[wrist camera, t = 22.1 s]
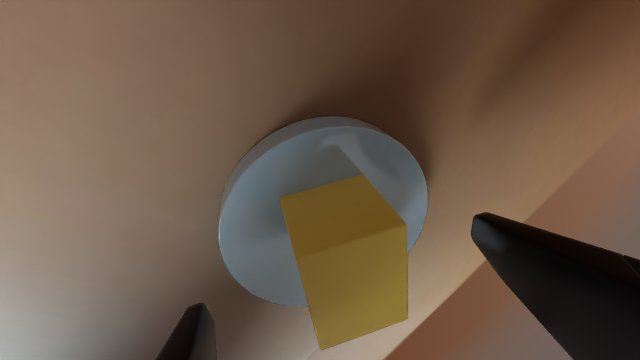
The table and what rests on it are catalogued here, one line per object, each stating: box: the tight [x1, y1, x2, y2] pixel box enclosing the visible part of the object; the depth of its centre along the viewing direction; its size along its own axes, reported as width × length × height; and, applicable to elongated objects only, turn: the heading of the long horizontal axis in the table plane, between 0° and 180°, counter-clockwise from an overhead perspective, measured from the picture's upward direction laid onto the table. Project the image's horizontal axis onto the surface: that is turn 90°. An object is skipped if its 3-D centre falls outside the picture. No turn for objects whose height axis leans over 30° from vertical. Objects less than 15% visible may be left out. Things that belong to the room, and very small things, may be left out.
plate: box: [218, 116, 428, 307], centre depth 11 cm, size 8×8×1 cm
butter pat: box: [279, 174, 408, 350], centre depth 10 cm, size 4×3×3 cm
